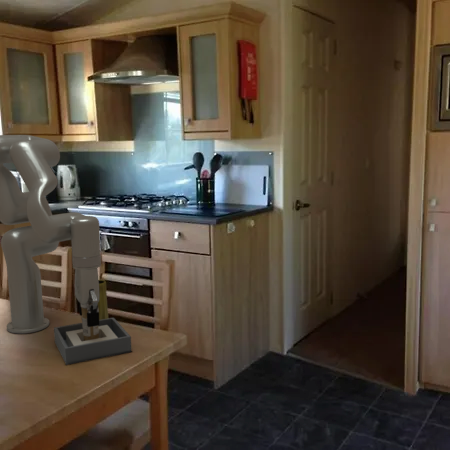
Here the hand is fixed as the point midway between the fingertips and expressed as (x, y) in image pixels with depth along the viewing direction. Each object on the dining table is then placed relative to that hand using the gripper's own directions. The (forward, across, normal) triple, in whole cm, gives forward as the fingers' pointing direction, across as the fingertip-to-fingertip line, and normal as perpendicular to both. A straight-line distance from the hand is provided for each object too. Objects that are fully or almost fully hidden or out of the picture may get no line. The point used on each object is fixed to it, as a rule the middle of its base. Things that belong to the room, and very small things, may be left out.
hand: (89, 320), depth 152 cm
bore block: (+8, +1, 0) cm, 8 cm away
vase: (+8, -15, +6) cm, 19 cm away
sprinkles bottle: (+7, 0, 0) cm, 8 cm away
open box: (+8, +1, 0) cm, 8 cm away
